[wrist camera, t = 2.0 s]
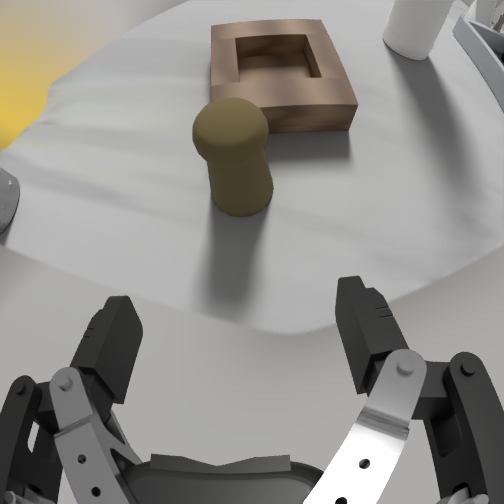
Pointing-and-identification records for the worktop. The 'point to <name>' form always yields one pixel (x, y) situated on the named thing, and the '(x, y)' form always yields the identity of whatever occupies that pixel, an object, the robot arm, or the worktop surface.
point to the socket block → (283, 73)
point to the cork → (235, 155)
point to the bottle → (415, 26)
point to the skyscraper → (484, 12)
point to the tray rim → (483, 52)
